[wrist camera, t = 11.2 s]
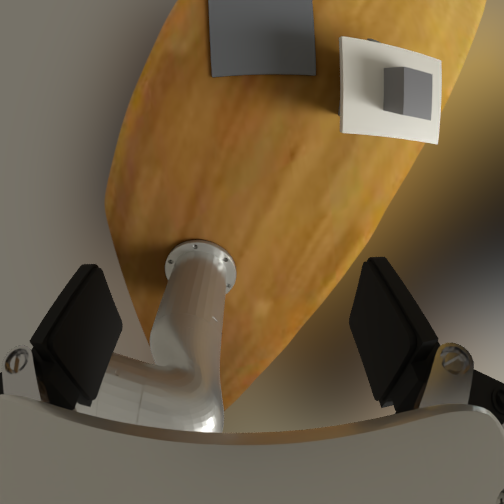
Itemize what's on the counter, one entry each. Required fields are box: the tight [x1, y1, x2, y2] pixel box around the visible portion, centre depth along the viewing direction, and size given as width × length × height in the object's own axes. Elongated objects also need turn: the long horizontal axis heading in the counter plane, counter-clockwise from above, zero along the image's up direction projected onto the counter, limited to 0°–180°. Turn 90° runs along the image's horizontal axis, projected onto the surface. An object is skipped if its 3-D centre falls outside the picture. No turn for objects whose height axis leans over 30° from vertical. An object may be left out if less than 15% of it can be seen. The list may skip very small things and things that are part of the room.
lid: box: [339, 36, 442, 144], centre depth 22 cm, size 11×13×6 cm
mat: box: [208, 0, 316, 77], centre depth 28 cm, size 13×14×1 cm
